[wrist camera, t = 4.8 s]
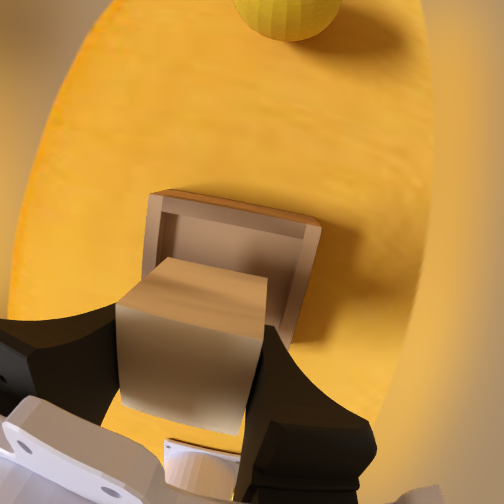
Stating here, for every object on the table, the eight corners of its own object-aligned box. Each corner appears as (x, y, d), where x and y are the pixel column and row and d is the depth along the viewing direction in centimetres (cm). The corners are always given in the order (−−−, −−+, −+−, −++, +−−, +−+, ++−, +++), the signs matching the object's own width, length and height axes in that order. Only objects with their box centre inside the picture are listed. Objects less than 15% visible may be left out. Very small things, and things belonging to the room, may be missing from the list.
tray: (281, 343, 20) (281, 371, 17) (156, 316, 20) (139, 339, 17) (314, 217, 18) (322, 227, 15) (169, 189, 18) (149, 194, 15)
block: (248, 360, 14) (237, 436, 9) (161, 340, 14) (121, 405, 10) (267, 278, 13) (263, 339, 8) (167, 256, 13) (115, 304, 8)
